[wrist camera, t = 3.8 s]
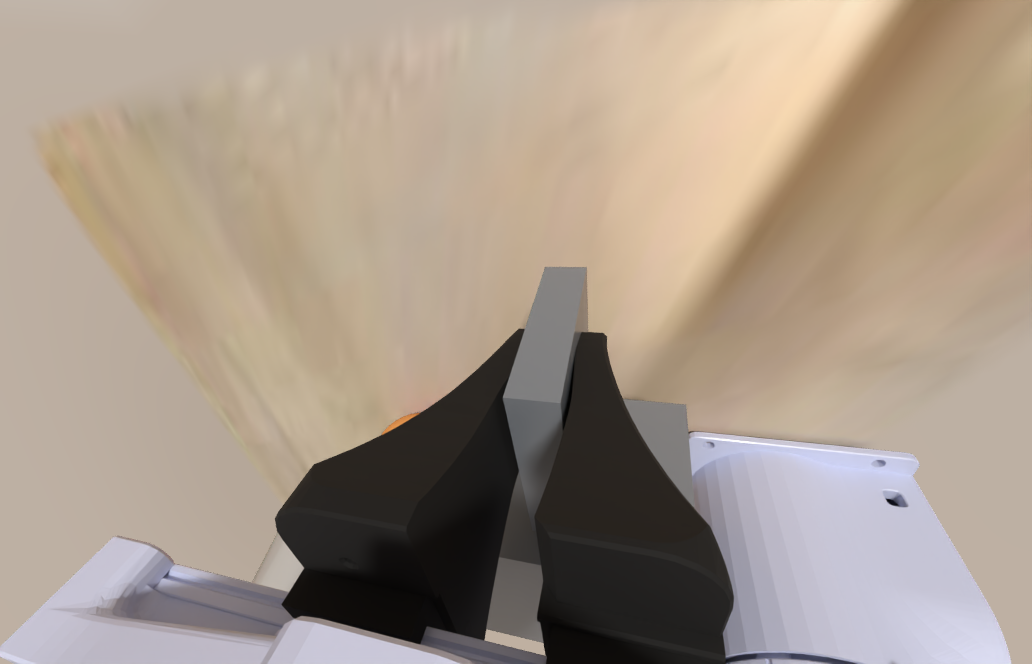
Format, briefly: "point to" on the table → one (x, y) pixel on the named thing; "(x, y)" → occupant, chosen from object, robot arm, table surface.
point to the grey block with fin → (559, 439)
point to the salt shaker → (278, 567)
